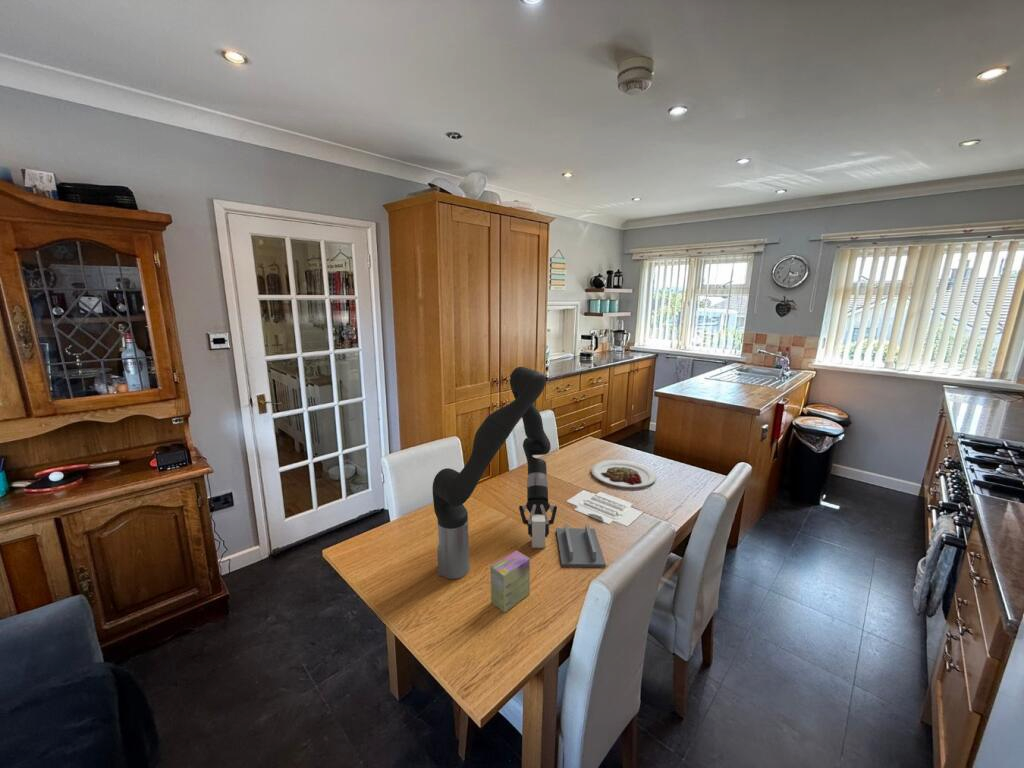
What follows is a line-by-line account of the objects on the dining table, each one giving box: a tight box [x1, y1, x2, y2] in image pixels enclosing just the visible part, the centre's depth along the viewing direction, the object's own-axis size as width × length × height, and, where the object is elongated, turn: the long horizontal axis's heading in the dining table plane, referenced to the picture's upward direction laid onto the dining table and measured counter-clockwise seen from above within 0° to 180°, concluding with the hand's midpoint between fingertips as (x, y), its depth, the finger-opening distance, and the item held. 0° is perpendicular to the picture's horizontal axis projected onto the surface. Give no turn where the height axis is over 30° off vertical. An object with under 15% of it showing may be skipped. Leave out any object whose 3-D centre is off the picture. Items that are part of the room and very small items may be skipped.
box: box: [490, 550, 531, 613], centre depth 114 cm, size 10×6×12 cm, turn 134°
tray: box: [565, 489, 645, 528], centre depth 164 cm, size 20×28×4 cm
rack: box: [555, 523, 607, 568], centre depth 138 cm, size 14×20×4 cm
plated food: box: [590, 459, 657, 489], centre depth 193 cm, size 30×30×3 cm
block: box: [531, 514, 546, 549], centre depth 139 cm, size 4×4×10 cm
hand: (538, 536), depth 138 cm, fingers closed on block, 4 cm apart
